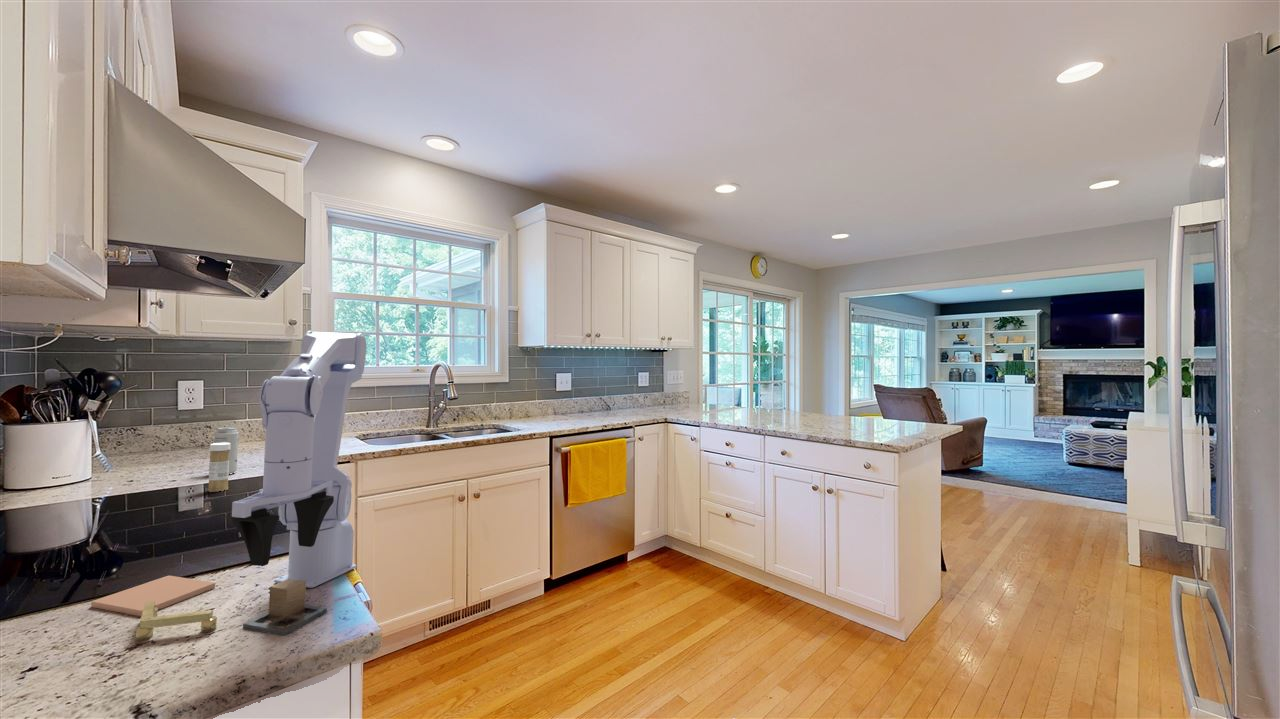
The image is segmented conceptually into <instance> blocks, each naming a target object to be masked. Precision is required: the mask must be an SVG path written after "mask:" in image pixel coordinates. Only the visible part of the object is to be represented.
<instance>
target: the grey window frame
mask: <svg viewBox="0 0 1280 719" xmlns="http://www.w3.org/2000/svg"><path fill="white" fill-rule="evenodd" d="M306 588H307V587H306V581H302V580H296V579H287V580H285V581H282V582H280V583H276V584H273V585H271V586H269V600H268V601H269V603H268V611H267V612H265V613H263V614H261V615H258V616H256V617H254V618H252V619H250V620H248V621H246V622H244V623H243V624H242V628H243V629H246V630H251V631H257V632H260V633H261V632H262V633H268V634H272V635H277V636H283V637H284V636H286V635H288V634H289V633H292V632H294V631H295V630H297V629H299V628H300V627H302V626H304V625H306V624H307V623H309V622H311V621H313V620H316V619H317V618H319V617H321V616H322V615H324V614H326V613H328V607H323V606H318V605H311V604H306V590H307V589H306ZM304 613H309V614H307V615H305V616H301V614H304ZM266 620H272V621H270V622H268V623H263V622H264V621H266ZM287 622H288V623H291V624H288V625H286V626H285V627H284V626H281V625H282V624H284V623H287Z"/></svg>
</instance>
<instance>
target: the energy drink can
mask: <svg viewBox="0 0 1280 719" xmlns="http://www.w3.org/2000/svg"><path fill="white" fill-rule="evenodd" d="M239 437H240V436H239V431H238V428H237V427H235V426H234V427H229V426H228V427H218V428H217V431H215V433H214V443H230V444H231V447H230V451H229V474H230V473H234V472H236V471H238V453H239V452H238V451H239ZM234 474H235V473H234Z"/></svg>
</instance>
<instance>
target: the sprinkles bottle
mask: <svg viewBox="0 0 1280 719" xmlns="http://www.w3.org/2000/svg"><path fill="white" fill-rule="evenodd" d="M230 447H231V444H230V443H215V442H213V443H210V445H209V452H210V453H209V465H208V489H207V491H208V492H209V493H216V492H217V493H219V491H221V492H225V491H228V490H229V476H230V475H229V451H230ZM224 490H225V491H224Z"/></svg>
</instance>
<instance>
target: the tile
mask: <svg viewBox="0 0 1280 719" xmlns="http://www.w3.org/2000/svg"><path fill="white" fill-rule="evenodd" d="M215 588H216V582H212V581H205V580H199V579H193V578H188V577H181V576H175V575H167V576H162V577H160V578H157V579H154V580H151V581H148V582H145V583H142V584H139V585H136V586H134V587H130V588H127V589H124V590H121V591H118V592H115V593H112V594H109V595H105V596H103V597H100V598H97V599H95V600H91V601H90V607H91V608H95V609H101V610H106V611H111V612H116V613H123V614H127V615H130V616H131V615H132V616H138V617H141V616H142V611H143V610H144V607H145V604H146V603H149V602H154V601H156V602H155V607H157V608H158V611H159V610H161V609H164V608H166V607H169V606H172V605H175V604H176V603H180V602H182V601H185V600H187V599H190V598H192V597H195V596H197V595H199V594H202V593H206V592H208V591H211V590H213V589H215Z"/></svg>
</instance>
